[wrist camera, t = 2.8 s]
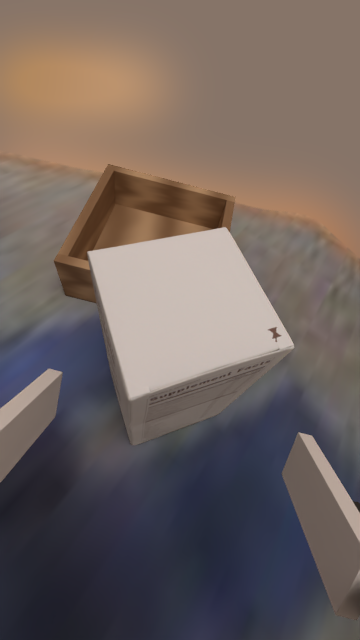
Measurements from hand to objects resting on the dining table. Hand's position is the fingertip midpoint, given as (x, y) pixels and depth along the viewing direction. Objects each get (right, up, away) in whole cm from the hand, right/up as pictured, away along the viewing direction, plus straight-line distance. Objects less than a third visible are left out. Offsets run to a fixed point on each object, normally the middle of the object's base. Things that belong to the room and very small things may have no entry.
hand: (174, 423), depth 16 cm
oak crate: (-3, +13, +23) cm, 26 cm away
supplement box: (-2, -1, +15) cm, 15 cm away
